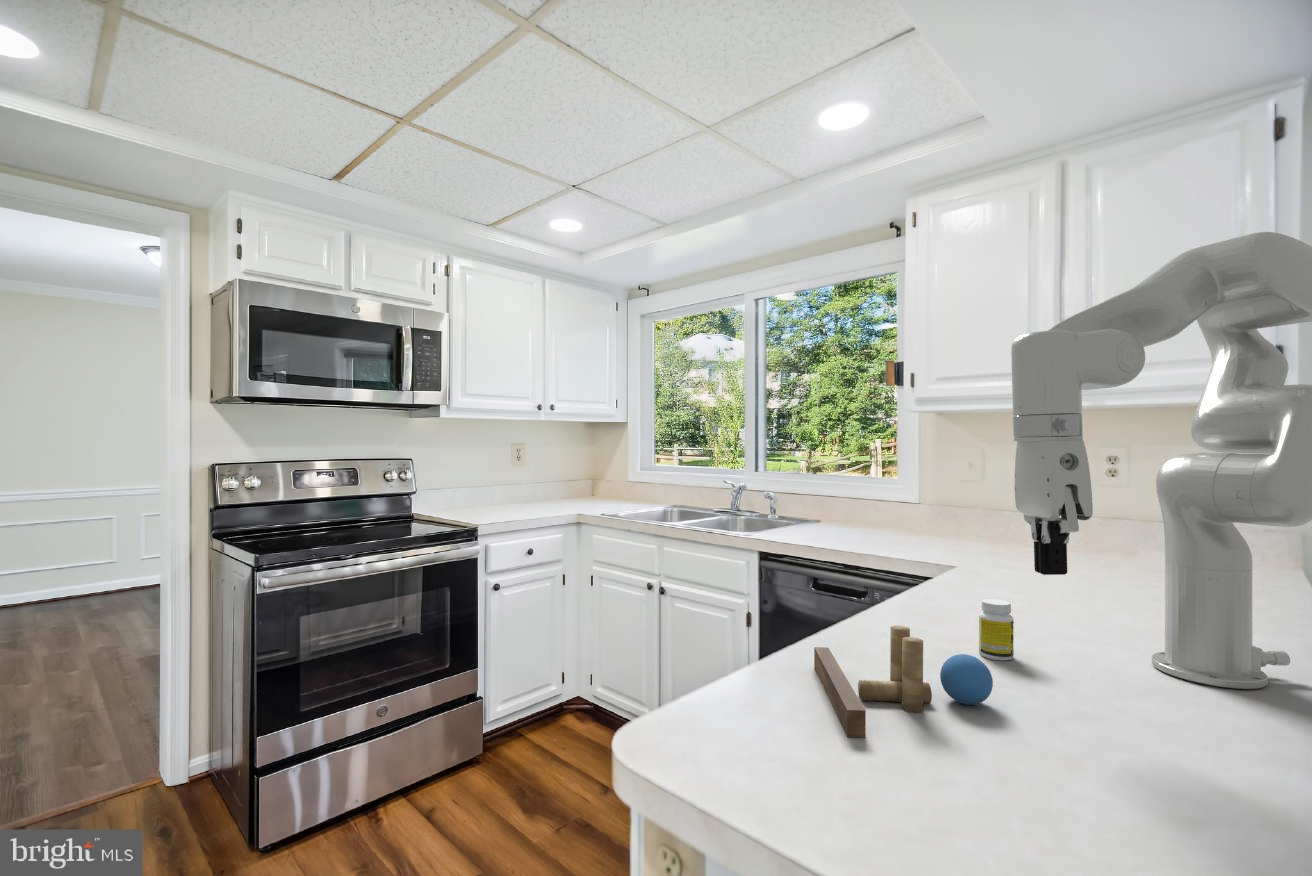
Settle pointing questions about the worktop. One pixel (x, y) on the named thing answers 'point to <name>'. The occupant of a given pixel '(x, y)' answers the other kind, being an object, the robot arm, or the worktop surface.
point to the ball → (966, 679)
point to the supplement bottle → (996, 630)
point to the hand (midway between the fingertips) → (1050, 572)
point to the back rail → (840, 693)
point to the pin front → (887, 691)
